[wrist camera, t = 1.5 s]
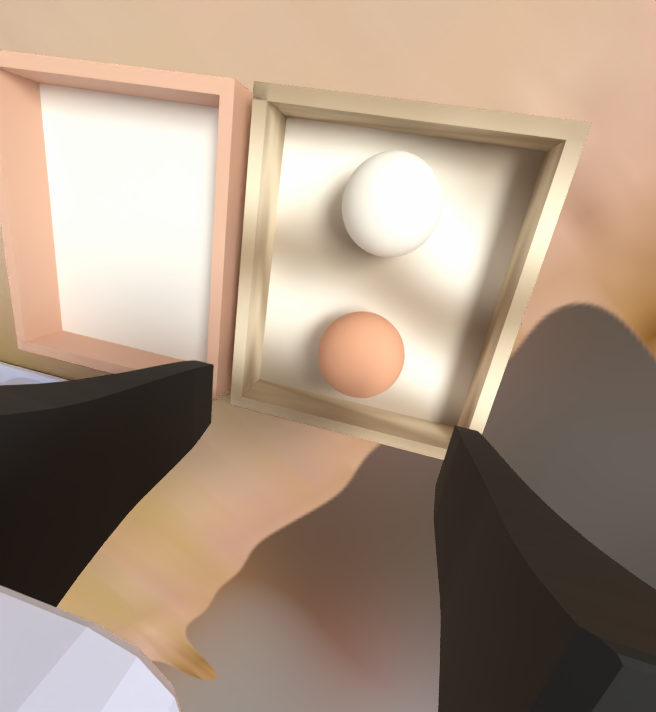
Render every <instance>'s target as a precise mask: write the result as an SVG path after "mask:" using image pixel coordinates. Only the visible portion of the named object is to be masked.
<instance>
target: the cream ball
mask: <svg viewBox="0 0 656 712" xmlns="http://www.w3.org/2000/svg"><path fill="white" fill-rule="evenodd" d="M442 203H443V198H442V190H441V186H440V183H439V180H438V178H437V176H436V174H435V172H434V171H433V169H432V168H431V167H430V166H429V165H428V164H427V163H426V162H425V161H424V160H423V159H421V158H420V157H418V156H416V155H414V154H412V153H409V152H405V151H398V150H393V151H385V152H381V153H378V154H376V155H374V156H372V157H370V158H368V159H367V160H365V161H364V162H363V163H362V164H360V165H359V166H358V167H357V168H356V170H355V171H354V172H353V173H352V175H351V177H350V178H349V180H348V182H347V184H346V187H345V190H344V193H343V198H342V216H343V221H344V225H345V227H346V230H347V232H348V233H349V235H350V237H351V238H352V239H353V241H354V242H355V243H356V244H357V245H358V246H359V247H360V248H362V249H363V250H365V251H366V252H368V253H370V254H373V255H376V256H380V257H398V256H402V255H406V254H408V253H410V252H412V251H414V250H416V249H418V248H419V247H420V246H421V245H423V244H424V243H425V242H426V241H427V240H428V239H429V237H430V236H431V235H432V233H433V232H434V230H435V229H436V227H437V224H438V222H439V219H440V216H441V212H442Z"/></svg>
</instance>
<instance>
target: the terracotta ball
mask: <svg viewBox="0 0 656 712" xmlns="http://www.w3.org/2000/svg"><path fill="white" fill-rule="evenodd" d="M404 360H405V351H404V344H403V341H402V338H401V336H400V334H399V332H398V331H397V329H396V328H395V327H394V326H393V325H392V324H391V323H390V322H389V321H388V320H387V319H385V318H383V317H382V316H380V315H377V314H375V313H371V312H360V311H359V312H352V313H348V314H345V315H343V316H341V317H339V318H338V319H336V320H335V321H334V322H332V323H331V324H330V325H329V326H328V328H327V329H326V330H325V332H324V334H323V336H322V338H321V340H320V343H319V348H318V361H319V366H320V369H321V372H322V374H323V376H324V378H325V379H326V380H327V382H328V383H329V384H330V385H331V386H332V387H333V388H334V389H336V390H337V391H339V392H340V393H342V394H345V395H347V396H350V397H355V398H368V397H373V396H376V395H378V394H380V393H382V392H384V391H386V390H387V389H388V388H390V387H391V386H392V385H393V384H394V383H395V381H396V380H397V379H398V377H399V375H400V373H401V371H402V368H403V365H404Z"/></svg>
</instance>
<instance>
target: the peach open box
mask: <svg viewBox="0 0 656 712" xmlns="http://www.w3.org/2000/svg"><path fill="white" fill-rule="evenodd" d="M252 102H253V93H252V92H251V91H250V90H249V89H247V88H246V87H245V86H243V85H242V84H241V83H240V82H238V81H237V80H236V79H233V78H225V77H217V76H209V75H200V74H192V73H184V72H176V71H168V70H160V69H151V68H143V67H135V66H127V65H119V64H110V63H102V62H94V61H86V60H78V59H70V58H61V57H53V56H45V55H37V54H29V53H21V52H12V51H4V50H0V223H1V230H2V237H3V244H4V251H5V258H6V265H7V273H8V280H9V287H10V294H11V301H12V308H13V315H14V322H15V329H16V337H17V344H18V349H20V350H24V351H28V352H32V353H36V354H40V355H43V356H47V357H51V358H55V359H59V360H63V361H66V362H70V363H74V364H78V365H82V366H86V367H89V368H93V369H97V370H101V371H105V372H109V373H112V374H117V373H122V372H128V371H133V370H138V369H143V368H148V367H154V366H159V365H164V364H169V363H175V362H181V361H190V360H197V361H201V362H205V363H209V364H213V365H214V368H213V390H212V400H217V399H218V398H219V397H220V396H221V395H222V394H224V393H225V392H226V391H227V390H228V389H229V388H230V387H231V382H232V369H233V355H234V342H235V329H236V315H237V302H238V289H239V275H240V262H241V249H242V235H243V222H244V209H245V195H246V182H247V168H248V155H249V142H250V128H251V115H252Z"/></svg>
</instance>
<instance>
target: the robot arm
mask: <svg viewBox="0 0 656 712" xmlns="http://www.w3.org/2000/svg"><path fill="white" fill-rule="evenodd" d="M213 368H214V365H213V364H209V363H205V362H201V361H197V360H190V361H181V362H175V363H169V364H164V365H159V366H154V367H148V368H143V369H138V370H133V371H128V372H122V373H117V374H111V375H105V376H99V377H93V378H86V379H79V380H71V381H70V380H66V379H63V378H59V377H55V376H52V375H48V374H44V373H40V372H37V371H33V370H29V369H26V368H22V367H18V366H14V365H11V364H7V363H3V362H0V712H181V708H180V705H179V702H178V700H177V696H176V694H175V691H174V687H173V685H172V684H171V683H170V682H169V680H168V679H167V678H166V677H165V676H164V675H163V674H162V673H161V672H160V671H159V669H158V668H157V667H156V666H155V665H154V664H153V663H152V662H151V661H150V660H149V658H148V657H147V656H146V655H145V654H144V653H143V652H142V651H141V650H140V649H139V648H137V647H135V646H134V645H132V644H130V643H128V642H127V641H125V640H123V639H122V638H120V637H118V636H117V635H115V634H113V633H112V632H110V631H108V630H107V629H105V628H103V627H101V626H100V625H98V624H96V623H94V622H91V621H89V620H86V619H84V618H81V617H79V616H76V615H74V614H71V613H69V612H66V611H64V610H61V609H59V608H56V607H57V605H58V604H59V602H60V601H61V600H62V598H63V597H64V596H65V594H66V593H67V591H68V590H69V589H70V587H71V586H72V584H73V583H74V582H75V580H76V579H77V577H78V576H79V575H80V574H81V572H82V571H83V570H84V568H85V567H86V566H87V564H88V563H89V562H90V561H91V559H92V558H93V557H94V555H95V554H96V553H97V551H98V550H99V549H100V548H101V546H102V545H103V544H104V542H105V541H106V540H107V539H108V537H109V536H110V535H111V534H112V533H113V531H114V530H115V529H116V528H117V526H118V525H119V524H120V523H121V522H122V520H123V519H124V518H125V517H126V515H127V514H128V513H129V512H130V511H131V510H132V509H133V508H134V507H135V505H136V504H137V503H138V502H139V501H140V500H141V499H142V498H143V497H144V496H145V495H146V494H147V493H148V492H149V491H150V490H151V489H152V488H153V487H154V486H155V485H156V484H157V483H158V482H159V481H160V480H161V479H162V478H163V477H164V476H165V475H166V474H167V473H168V472H169V471H170V470H171V469H172V468H173V467H174V466H175V465H176V464H177V463H178V462H179V461H180V460H181V459H182V458H183V457H184V456H185V455H186V454H187V453H188V452H189V451H190V450H191V449H192V448H193V447H194V445H195V444H196V443H197V441H198V440H199V439H200V437H201V436H202V435H203V433H204V432H205V431H206V429H207V428H208V426H209V425H210V423H211V411H212V390H213ZM434 505H435V506H434V527H435V540H436V554H437V566H438V578H439V591H440V608H441V638H440V642H441V643H440V677H439V678H440V679H439V707H438V708H439V709H438V712H656V590H655V589H654V588H652V587H651V586H649V585H648V584H646V583H645V582H643V581H642V580H641V579H639V578H638V577H636V576H635V575H633V574H632V573H631V572H629V571H628V570H626V569H625V568H624V567H623V566H621V565H620V564H618V563H617V562H615V561H614V560H613V559H612V558H610V557H609V556H608V555H606V554H605V553H603V552H602V551H601V550H599V549H598V548H597V547H596V546H594V545H593V544H592V543H591V542H589V541H588V540H587V539H586V538H584V537H583V536H582V535H581V534H580V533H578V532H577V531H576V530H575V529H574V528H572V527H571V526H570V525H569V524H568V523H566V521H564V520H563V519H562V518H561V517H559V515H557V514H556V513H555V512H554V511H553V510H552V509H551V508H550V507H549V506H548V505H547V504H546V503H545V502H544V501H543V500H541V498H540V497H539V496H538V495H537V494H535V493H534V492H533V491H532V490H531V489H530V488H529V487H528V485H527V484H526V483H525V482H524V481H523V480H522V479H521V478H520V477H519V476H518V475H517V474H516V473H515V472H514V471H513V469H512V468H511V467H510V466H509V465H508V464H507V463H506V462H505V460H504V459H503V458H502V457H501V456H500V455H499V454H498V453H497V451H496V450H495V449H494V448H493V447H492V446H491V444H490V443H489V442H488V441H487V440H486V439H485V438H484V437H483V435H482V434H481V433H479V432H478V431H476V430H472V429H468V428H464V427H460V426H456V425H455V426H454V430H453V433H452V436H451V439H450V442H449V445H448V448H447V452H446V455H445V458H444V461H443V464H442V467H441V470H440V474H439V477H438V480H437V483H436V488H435V504H434Z"/></svg>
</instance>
